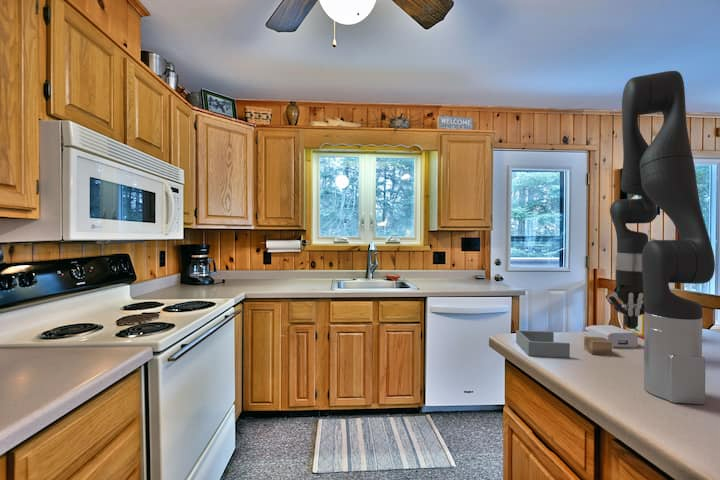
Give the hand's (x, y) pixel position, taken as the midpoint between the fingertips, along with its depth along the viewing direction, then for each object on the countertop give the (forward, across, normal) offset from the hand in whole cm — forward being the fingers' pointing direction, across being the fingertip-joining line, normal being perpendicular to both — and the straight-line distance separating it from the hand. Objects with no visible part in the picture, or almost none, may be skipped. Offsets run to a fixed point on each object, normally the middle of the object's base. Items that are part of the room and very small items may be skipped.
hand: (630, 328), depth 99 cm
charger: (+8, -1, +12) cm, 15 cm away
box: (+7, -24, 0) cm, 25 cm away
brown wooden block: (+7, -9, -1) cm, 12 cm away
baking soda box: (+8, +15, +19) cm, 26 cm away
